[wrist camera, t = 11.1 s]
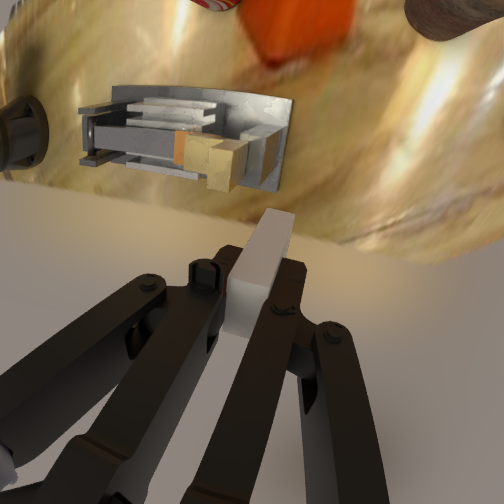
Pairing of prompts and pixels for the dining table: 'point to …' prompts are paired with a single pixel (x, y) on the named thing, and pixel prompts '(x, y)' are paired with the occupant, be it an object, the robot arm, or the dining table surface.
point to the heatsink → (197, 126)
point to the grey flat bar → (137, 140)
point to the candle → (451, 16)
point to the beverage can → (216, 4)
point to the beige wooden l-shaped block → (216, 160)
